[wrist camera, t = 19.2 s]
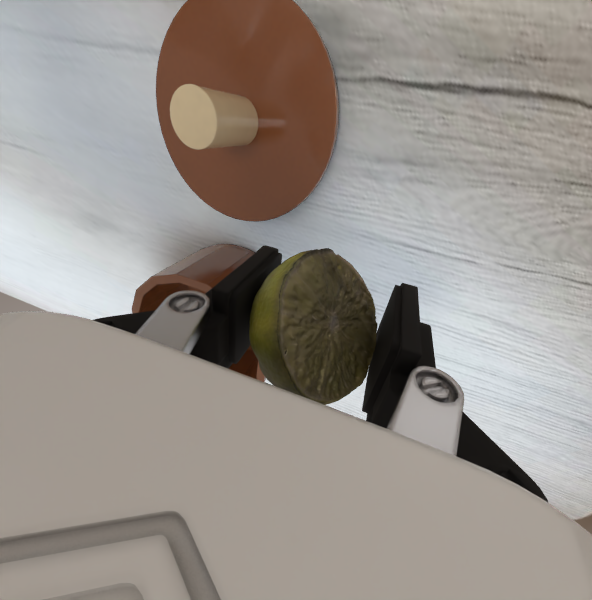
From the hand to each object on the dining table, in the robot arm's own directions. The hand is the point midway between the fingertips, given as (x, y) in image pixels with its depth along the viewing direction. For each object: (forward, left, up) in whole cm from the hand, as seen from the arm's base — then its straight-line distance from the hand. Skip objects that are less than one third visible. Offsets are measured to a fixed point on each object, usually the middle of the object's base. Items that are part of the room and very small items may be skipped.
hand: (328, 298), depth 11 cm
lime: (0, 0, -1) cm, 1 cm away
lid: (-5, -10, -11) cm, 16 cm away
